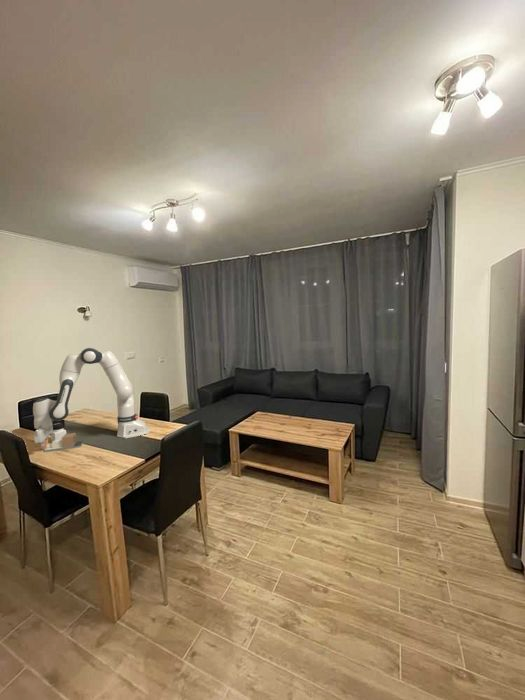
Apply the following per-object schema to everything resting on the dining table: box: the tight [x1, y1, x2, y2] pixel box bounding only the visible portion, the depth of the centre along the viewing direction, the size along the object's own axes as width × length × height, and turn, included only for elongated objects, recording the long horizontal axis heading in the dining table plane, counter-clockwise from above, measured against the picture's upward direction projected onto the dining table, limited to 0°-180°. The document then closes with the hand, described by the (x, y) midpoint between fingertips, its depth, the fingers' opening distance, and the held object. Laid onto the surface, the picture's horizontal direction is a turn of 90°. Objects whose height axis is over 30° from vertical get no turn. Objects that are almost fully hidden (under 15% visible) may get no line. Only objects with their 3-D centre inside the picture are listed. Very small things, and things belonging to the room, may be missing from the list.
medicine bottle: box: [50, 422, 67, 443], centre depth 200 cm, size 7×7×12 cm
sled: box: [40, 438, 63, 450], centre depth 188 cm, size 12×4×5 cm, turn 109°
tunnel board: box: [43, 432, 84, 453], centre depth 190 cm, size 20×8×8 cm, turn 109°
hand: (44, 444), depth 186 cm, fingers closed on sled, 3 cm apart
